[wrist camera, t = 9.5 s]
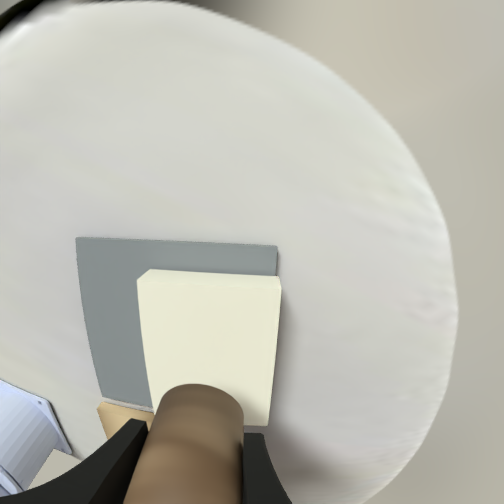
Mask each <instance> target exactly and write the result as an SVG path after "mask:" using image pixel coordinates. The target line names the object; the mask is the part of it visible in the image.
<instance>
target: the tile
mask: <svg viewBox="0 0 504 504" xmlns="http://www.w3.org/2000/svg"><path fill="white" fill-rule="evenodd" d="M137 290H138V303H139V314H140V324H141V333H142V341H143V349H144V356H145V363H146V370H147V376H148V382H149V388H150V394H151V399H152V405H153V410H154V415H155V414H156V411H157V408H158V406H159V403H160V401H161V398H162V397H163V395H164V394H165V393H166V392H167V391H168V390H170V389H172V388H173V387H176V386H179V385H183V384H204V385H209V386H213V387H216V388H218V389H221V390H223V391H225V392H226V393H228V394H229V395H231V396H232V397H233V398H234V399H235V400H236V401H237V402H238V403H239V404H240V406H241V408H242V410H243V414H244V425H250V426H268V419H269V410H270V402H271V393H272V384H273V375H274V365H275V355H276V345H277V335H278V324H279V313H280V302H281V290H282V288H281V284H280V280H279V276H261V275H241V274H222V273H205V272H188V271H172V270H157V269H149V270H148V271H147V272H146V273H145V274H143V275H142V276H141V277H140V278H138V279H137Z"/></svg>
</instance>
